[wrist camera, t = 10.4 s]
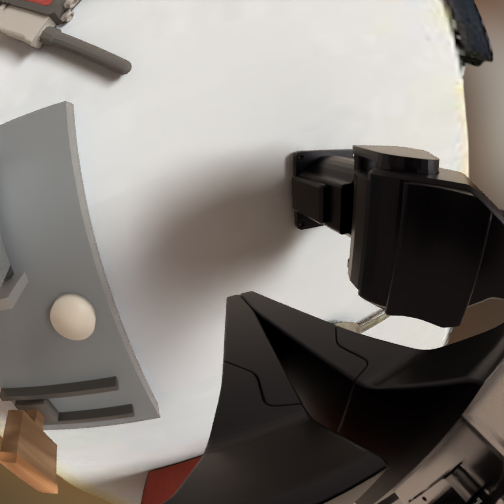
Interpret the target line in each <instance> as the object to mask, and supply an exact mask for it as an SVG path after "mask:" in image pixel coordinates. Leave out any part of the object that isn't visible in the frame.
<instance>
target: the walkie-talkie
mask: <svg viewBox="0 0 504 504" xmlns="http://www.w3.org/2000/svg"><path fill="white" fill-rule="evenodd" d="M80 1H81V0H0V31H1V32H3V33H4V34H6V35H7V36H9V37H12V38H15V39H18V40H21V41H23V42H26V43H28V44H29V45H30V46H32V47H34V48H37V49H40V47H41V46H42V44H43V43H44V44H47V45H49V46H52V45H55V46H58V47H60V48H63V49H65V50H68V51H70V52H72V53H75V54H77V55H79V56H82V57H84V58H86V59H89V60H91V61H93V62H95V63H97V64H100V65H102V66H104V67H106V68H108V69H110V70H113V71H115V72H117V73H119V74H121V75H124V74H127V73H128V72H130V70H131V63H130V62H129V61H127V60H125V59H123V58H121V57H119V56H117V55H114V54H112V53H110V52H108V51H106V50H103V49H101V48H99V47H96V46H94V45H92V44H89V43H87V42H85V41H82V40H80V39H77V38H75V37H72V36H70V35H67V34H64V33H62V32H61V30H60V29H57V28H55V26H56V25H57V24H61V23H63V22H64V21H67V22H68V21H70V20H71V19H72V18H73V16H74V13H73V12H72V10H73V9H74V8H75V7H76V5H77V4H78V3H79V2H80Z"/></svg>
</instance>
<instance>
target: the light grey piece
mask: <svg viewBox="0 0 504 504" xmlns="http://www.w3.org/2000/svg"><path fill="white" fill-rule="evenodd" d="M13 275H14V271H13V269H12V266H11V263H10V260H9V257H8V254H7V251H6V248H5V245H4V242H3V239H2V235H1V232H0V289H1V287H2V284H3V282H5V281H7V280H9V279H10V278H11V277H12V276H13Z"/></svg>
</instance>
